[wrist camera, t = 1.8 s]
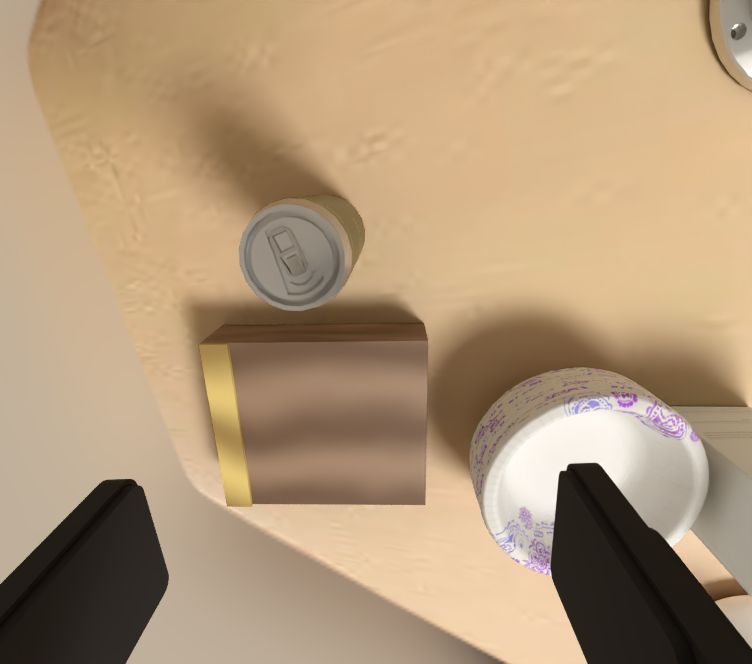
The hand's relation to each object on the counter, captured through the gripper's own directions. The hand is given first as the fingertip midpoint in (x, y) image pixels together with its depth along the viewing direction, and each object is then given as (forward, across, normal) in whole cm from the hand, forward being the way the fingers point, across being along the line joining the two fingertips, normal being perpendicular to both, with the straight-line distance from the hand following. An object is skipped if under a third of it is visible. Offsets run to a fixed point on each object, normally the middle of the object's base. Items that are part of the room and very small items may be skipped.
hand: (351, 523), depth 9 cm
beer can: (+24, +3, -4) cm, 24 cm away
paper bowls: (+24, -14, +13) cm, 31 cm away
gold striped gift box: (+24, +5, +10) cm, 26 cm away
